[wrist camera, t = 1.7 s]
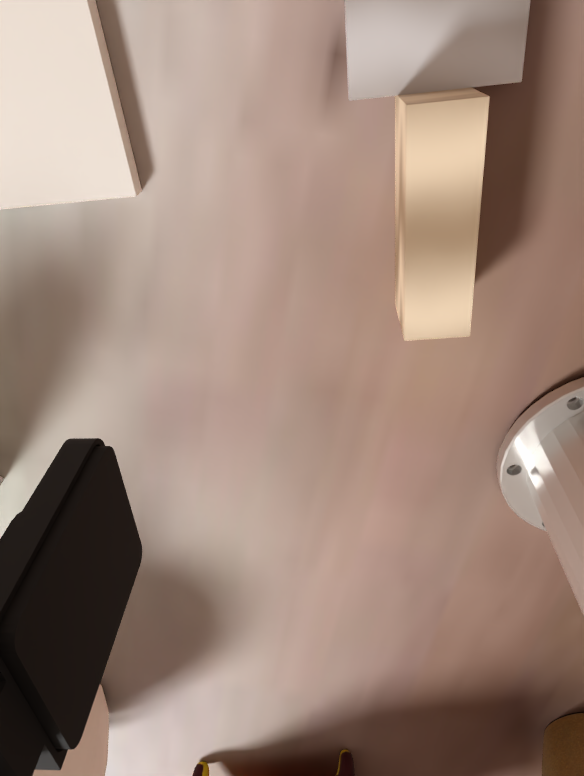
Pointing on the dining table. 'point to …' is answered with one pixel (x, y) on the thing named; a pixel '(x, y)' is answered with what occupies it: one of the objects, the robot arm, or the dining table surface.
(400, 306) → the turner
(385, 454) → the dining table surface
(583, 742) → the plant pot
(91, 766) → the white faceted vase
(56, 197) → the board
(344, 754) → the decorative lantern
